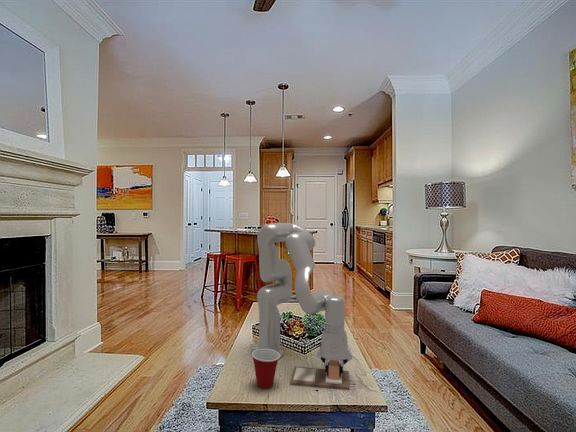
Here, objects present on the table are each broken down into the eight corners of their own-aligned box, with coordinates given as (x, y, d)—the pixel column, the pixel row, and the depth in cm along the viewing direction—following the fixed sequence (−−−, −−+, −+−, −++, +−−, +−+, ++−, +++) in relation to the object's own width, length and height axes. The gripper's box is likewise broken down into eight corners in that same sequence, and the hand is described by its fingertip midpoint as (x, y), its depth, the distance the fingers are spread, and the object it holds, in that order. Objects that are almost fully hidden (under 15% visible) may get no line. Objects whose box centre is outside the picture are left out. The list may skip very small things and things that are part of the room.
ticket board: (290, 384, 130) (290, 380, 130) (294, 368, 143) (294, 365, 143) (349, 390, 127) (349, 385, 127) (348, 373, 140) (348, 369, 140)
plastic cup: (282, 391, 126) (282, 358, 126) (252, 393, 124) (252, 360, 124) (277, 376, 137) (278, 346, 136) (250, 378, 135) (250, 348, 134)
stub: (325, 383, 130) (325, 368, 130) (326, 370, 140) (326, 356, 140) (341, 384, 129) (342, 369, 129) (341, 371, 139) (341, 358, 139)
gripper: (312, 329, 131) (311, 377, 132) (357, 332, 129) (356, 381, 129) (313, 323, 139) (313, 368, 139) (356, 325, 136) (355, 371, 137)
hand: (334, 374), depth 134 cm, fingers closed on stub, 4 cm apart
